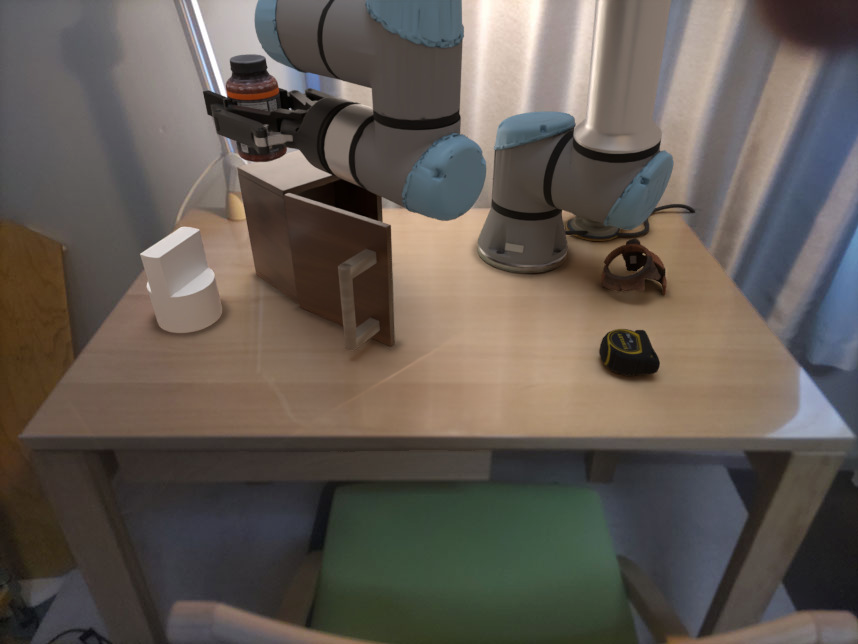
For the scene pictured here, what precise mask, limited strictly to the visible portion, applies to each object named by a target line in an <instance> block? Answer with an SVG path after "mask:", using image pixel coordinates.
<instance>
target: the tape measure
mask: <svg viewBox="0 0 858 644" xmlns="http://www.w3.org/2000/svg"><path fill="white" fill-rule="evenodd" d="M598 351H599V352H598V353H599V357H600V360H601V361H602V363H603V364H604V365H605V366H606V368H607V369H609V370H611V371H612V372H614V373H617V374H619V375H623V376H628V377H629V376H630V377H632V376H640V375H654V374H656V373H657V372H658V371H659V368H660V367H661V361H660V358H659V356H658V353H656V350H655V349H654V348H653V345H652V343H651V339H650V337H649V335H648V333H647V332H646V330H644V329H636V330H631V329H628V328H617V329H613V330H610V331H607V332H606V334H605V335H604V336H603V337H602V338H601V341H600V344H599V350H598Z"/></svg>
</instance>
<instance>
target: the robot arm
mask: <svg viewBox="0 0 858 644" xmlns="http://www.w3.org/2000/svg"><path fill="white" fill-rule="evenodd" d="M671 4H672V0H595V1H594V15H593V27H592V28H593V29H592V39H591V51H590V52H591V53H590V62H589V75H588V87H587V88H588V89H587V98H586V99H587V100H586V110H585V111H586V113H585V118H584V119H583V120H582V121H580V122H579V123H578V124H577V123H576V119H575V117H574V116H573V115H571V113H567V112H564V111H563V112H562V111H545V110H544V111H530V112H523V113H518V114H514V115H511V116H509V117H507V118H504V119H503V120H501V122H500V123H499V124H498V126H497V129H496V136H495V142H494V146H493V150H494V152H493V153H494V154H493V169H492V171H493V172H492V185H491V186H492V188H491V203H490V209H489V211H488V213H487V215H486V219H485V221H484V223H483V225H482V228H481V230H480V233H479V235H478V239H477V247H476V249H477V254H478V256H479V257H480V258H481V259H482V261H484V262H485V263H486V264H487V265H490V266H492V267H494V268H495V269H499V270H502V271H506V272H508V273H509V272H510V273H515V274H539V273H546V272H549V271H552V270H555V269H557V268H559V267H561V266H562V265H563V264H564V262H565V261H566V259H567V255H568V250H569V247H568V246H569V244H568V239H567V236H574V235H584V234H587V233H588V231H568V230H566V229H565V228H566V227H565V223H564V219H563V211H564V212H567V213H570V214H572V213H573V214H572V215H574V214H576V215H579V216H582V217H585V218H588V219H591V220H594V221H597V222H600V223H603V224H604V226H613V227H616V228H620V230H624V231H633V230H634V229H636V228H638V227H640V226H642V224H644V229H642V230H640V231H635V232H620V233H616V234H617V237H616V238H635V237H640V236H643V235H645V234H647V233H648V232H649V230H650V222H649V219H648V218H649V217H650V216H651V214H654V213H656V212H660V211H664V210H669V209H684V210H687V211H688V212H689V213H691V214H695V213H696V211H695V209H694V208H693V207H691V206H690V205H687V204H684V203H671V204H665V205H661V206H658V204H659V202H660V201H661V199H662V198H663V196H664V193H665V191H666V189H667V187H668V185H669V182H670V179H671V177H672V173H673V169H674V157H673V155H672V154H671V153H669V152H668V151H667V150H665V149H664V150H661V142H662V138H663V137H662V136H663V132H662V131H663V130H662V129H661V127H660V126H659V125H658V124H657V123H656V122H655V121H654V120H653V117H654V111H655V104H656V100H657V93H658V86H659V80H660V73H661V67H662V61H663V54H664V47H665V43H666V35H667V30H668V29H667V28H668V22H669V21H668V20H669V17H670V15H669V14H670V11H671V10H670V9H671ZM253 20H254V29H255V34H256V37H257V40H258V42H259V44H260V45H261V49H262V50H263V51H264V52H265V53H266V54H267V56H268V57H270V58H271V59H272V61H275V62H276V63H279V64H280V65H283V66H286V67H288V68H290V69H293V70H295V71H297V72H299V73H303V74H313V75H317V76H322V77H326V78H330V79H334V80H337V81H343V82H346V83H350V84H352V85H353V84H354V85H357V86H361V87H365V88H368V89H371V99H372V100H371V102H372V106H369V105H366V104H362V103H360V102H357V101H356V102H355V101H351V100H348V99H345V98H343V97H338V96H334V95H332V94H329V93H326V92H323V91H321V90H318V89H315V88H311V87H308V88H305V89H304V93H302V92H301V91H300V90H296V89H292V90H290V91H288V90H287V89H284V88H282V87H279V94H280V101H281V108H282V109H281V108H280V109H277V110H274V111H266V110H260V109H255V108H249V107H243V106H238V104H237V101H235V100H233V99H232V98H227V96H225V95H223V94H219V93H217V92H214V91H213V90H203V91H202V94H203V99H204V104H205V109H206V114H207V115H208V116H210V117H212V118H213V122H214V128H215V132H216V134H217V135H219V136H220V137H221V136H222V137H224V138H226V139H229V140H232V141H235V142H236V141H237V142H239V143H242V144H244V145H247V146H249V147H252V148H254V149H255V150H256V151H257V152H258V153H259V154H263V155H266V154H269V153H270V149H271V148H272V145H277V144H283V145H284V146H285V147H287V149H294V150H300V151H301V153H302V154H303V155H304V157H305V158H306V159H307V161H308V162H309V163H310V164H311V165H313V166H314V167H315V168H317V169H320V170H322V171H324V172H326V173H329V174H331V175H333V176H336V177H339V178H341V179H343V180H346V181H348V182H351V183H353V184H355V185H358V186H360V187H362V188H364V189H366V190H368V191H370V192H372V193H374V194H376V195H379V196H381V197H382V199H385V200H387V201H389V202H392V203H394V204H396V205H398V206H400V207H402V208H405V210H407V211H408V212H410V213H413V214H418V215H421V216H424V217H426V218H430V219H435V220H437V221H441V222H448V221H454V220H456V219H458V218H460V217H462V216H464V215H465V214H467V213H468V212H469V211H470V210H471V209H472V208H473V206H474V205H475V204H476V203H477V200H478V199H479V198H480V195H482V194H481V193H482V191H483V189H484V185H485V182H486V177H487V161H486V159H485V158H484V155H483V150H482V147H481V146H480V145H479V143H477V142H476V141H474V140H473V139H471V138H469V137H468V136H466V135H465V134H463V133H461V127H462V117H461V113H460V112H461V91H462V90H461V88H462V69H463V68H462V67H463V66H462V65H463V43H464V41H463V40H464V37H465V26H464V24H463V0H257V3H256V6H255V10H254V19H253Z"/></svg>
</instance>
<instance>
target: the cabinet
mask: <svg viewBox="0 0 858 644" xmlns="http://www.w3.org/2000/svg"><path fill="white" fill-rule="evenodd" d="M236 171H237V176H238V183H239V188H240V193H241V199H242V204H243V210H244V216H245V221H246V226H247V232H248V238H249V243H250V249H251V254H252V260H253V266H254V270H255V275H256V276H257V277H259V278H261V279H262V280H264V281H265V282H266V283H268V284H269V285H270V286H272V287H274V288H275V289H276V290H277V291H279V292H281V293H282V294H284V295H285V296H287V297H288V298H289V299H291V300H292V301H293V302H295V303H296V304H298V305H299V301H298V294H297V287H296V280H295V273H294V266H293V258H292V251H291V244H290V237H289V230H288V223H287V216H286V208H285V201H284V195H285V194H287V193H291V194H294V195H298V196H301V197H304V198H307V199H310V200H313V201H317V202H320V203H323V204H326V205H329V206H332V207H336V208H339V209H342V210H345V211H348V212H351V213H355V214H358V215H361V216H364V217H367V218H370V219H374V220H377V221H380V222H383V223H384V220H383V200H382V199H383V197H381V196H379V195H376V194H374V193H372V192H370V191H368V190H366V189H364V188H362V187H360V186H358V185H355V184H353V183H351V182H348V181H346V180H343V179H341V178H339V177H336V176H333V175H331V174H329V173H326V172H324V171H322V170H320V169H317V168H315V167H314V166H313V165H311V164H310V163H309V162H308V161H307V159H306V158H305V157H304V155H303V154H302V153H301V151H300V150H298V149H296V150H294V151H290V152H286V154H285V155H284V156H282V157H280V158H278V159H276V160H273V161H269V162H250V163H246V164H244V165H240V166H236Z"/></svg>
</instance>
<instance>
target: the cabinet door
mask: <svg viewBox="0 0 858 644" xmlns="http://www.w3.org/2000/svg"><path fill="white" fill-rule="evenodd" d="M284 201H285V208H286V216H287V223H288V230H289V237H290V244H291V251H292V258H293V266H294V273H295V280H296V287H297V294H298V301H299V304H298V308H301V309H303V310H304V311H308V312H310V313H312V314H314V315H316V316H319V317H322V318H324V319H326V320H329V321H331V322H333V323H335V324H337V325H340V326H342V328H343V337H344V348H345V349H346V351H349V352H352V351H353V352H354V351H356V350H357V349H358V348H359V347H361V346H362V345H363V344H365V343H366V342H367V341H369V340H370V339H373V340H375V341H378V342H380V343H382V344H384V345H385V346H386V345H387V346H388V347H392V346H393V345H394V344H395V342H396V340H395V334H396V333H395V307H394V304H395V303H394V279H393V278H394V277H393V247H392V246H393V245H392V243H393V242H392V224H390V223H387V222H384V221H383V222H380V221H377V220H374V219H370V218H367V217H364V216H361V215H358V214H355V213H351V212H348V211H345V210H342V209H339V208H336V207H332V206H329V205H326V204H323V203H320V202H317V201H313V200H310V199H307V198H304V197H301V196H298V195H294V194H291V193H287V194H285V195H284Z"/></svg>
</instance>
